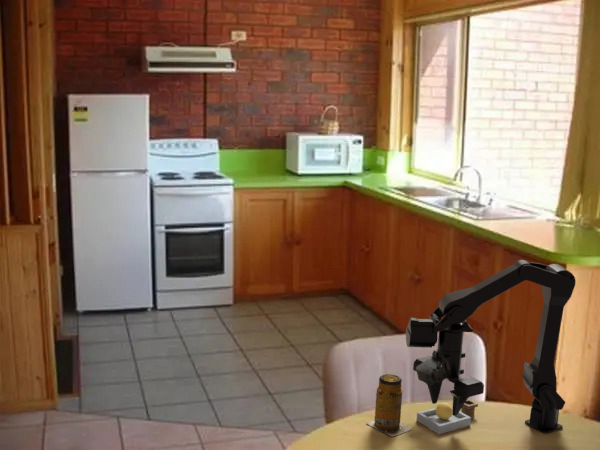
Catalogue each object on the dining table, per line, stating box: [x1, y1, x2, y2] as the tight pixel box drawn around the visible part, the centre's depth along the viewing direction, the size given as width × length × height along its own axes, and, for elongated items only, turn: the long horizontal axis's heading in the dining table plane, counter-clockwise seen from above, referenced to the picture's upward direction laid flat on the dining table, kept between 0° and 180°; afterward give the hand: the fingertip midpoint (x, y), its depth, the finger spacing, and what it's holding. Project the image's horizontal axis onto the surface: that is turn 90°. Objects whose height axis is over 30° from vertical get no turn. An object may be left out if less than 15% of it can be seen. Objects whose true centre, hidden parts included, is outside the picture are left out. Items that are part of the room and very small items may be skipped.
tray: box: [416, 406, 472, 435], centre depth 179 cm, size 10×8×2 cm
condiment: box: [366, 373, 413, 437], centre depth 175 cm, size 7×8×12 cm
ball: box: [435, 402, 453, 420], centre depth 179 cm, size 4×4×4 cm
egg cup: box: [460, 398, 479, 419], centre depth 184 cm, size 3×3×3 cm
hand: (444, 409), depth 179 cm, fingers open, 7 cm apart
